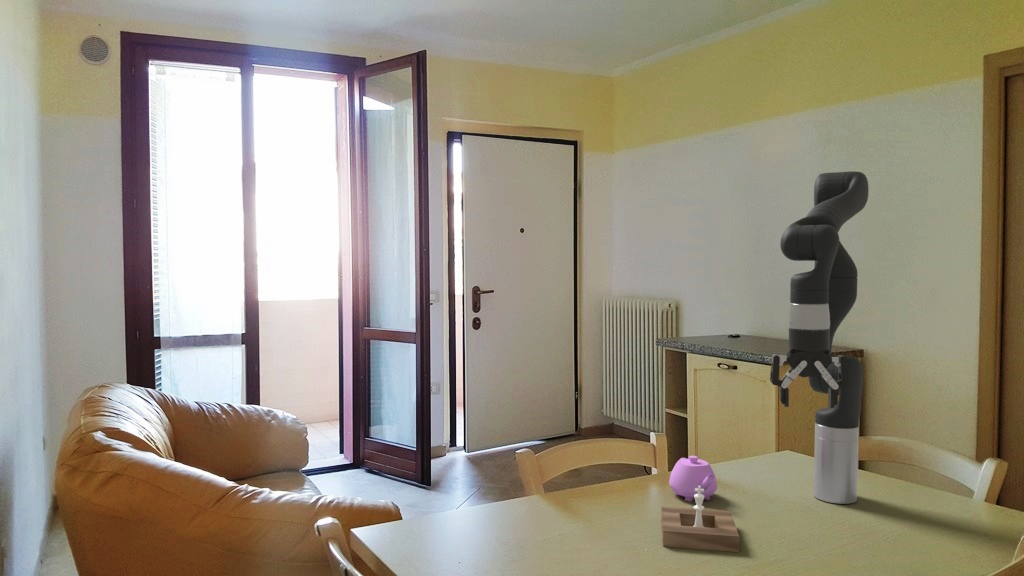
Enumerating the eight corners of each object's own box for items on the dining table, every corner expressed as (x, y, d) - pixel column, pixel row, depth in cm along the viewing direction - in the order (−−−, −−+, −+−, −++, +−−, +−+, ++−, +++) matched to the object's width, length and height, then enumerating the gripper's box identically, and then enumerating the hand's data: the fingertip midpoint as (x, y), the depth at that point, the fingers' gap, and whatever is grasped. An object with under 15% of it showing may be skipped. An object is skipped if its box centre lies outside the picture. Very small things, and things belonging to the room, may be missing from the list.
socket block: (661, 520, 152) (661, 506, 151) (730, 525, 149) (730, 511, 149) (663, 546, 138) (663, 530, 138) (738, 552, 135) (739, 536, 135)
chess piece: (712, 541, 141) (713, 490, 140) (686, 539, 142) (687, 488, 141) (710, 532, 145) (711, 483, 145) (685, 530, 146) (686, 481, 146)
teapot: (698, 486, 175) (699, 448, 175) (732, 506, 161) (733, 464, 161) (659, 489, 173) (660, 450, 172) (690, 510, 158) (691, 468, 158)
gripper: (842, 324, 145) (841, 403, 146) (768, 323, 148) (767, 401, 149) (852, 328, 138) (851, 412, 138) (774, 327, 140) (773, 409, 141)
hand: (808, 406), depth 144 cm, fingers open, 8 cm apart
